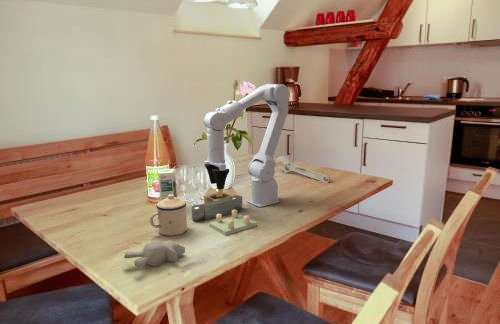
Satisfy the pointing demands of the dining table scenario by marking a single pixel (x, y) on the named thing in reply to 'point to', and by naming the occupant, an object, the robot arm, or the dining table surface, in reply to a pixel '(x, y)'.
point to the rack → (232, 223)
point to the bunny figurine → (157, 253)
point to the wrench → (300, 170)
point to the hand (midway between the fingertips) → (217, 186)
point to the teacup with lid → (171, 216)
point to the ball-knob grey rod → (216, 208)
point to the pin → (219, 193)
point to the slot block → (214, 197)
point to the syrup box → (167, 183)
